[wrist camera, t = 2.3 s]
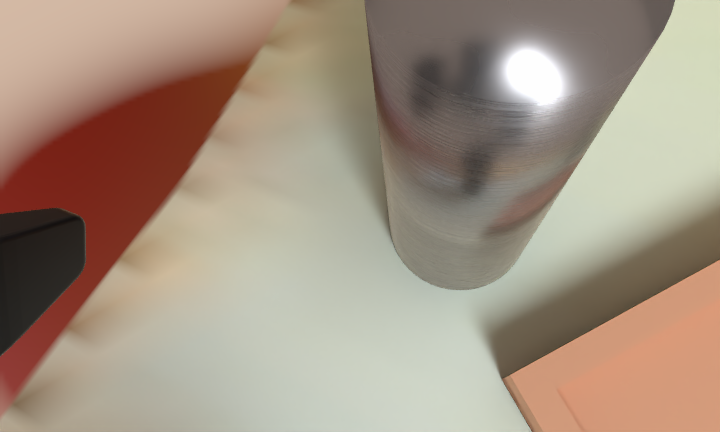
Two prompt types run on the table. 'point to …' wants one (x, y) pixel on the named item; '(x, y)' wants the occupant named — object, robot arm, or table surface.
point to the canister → (492, 117)
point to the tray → (634, 368)
